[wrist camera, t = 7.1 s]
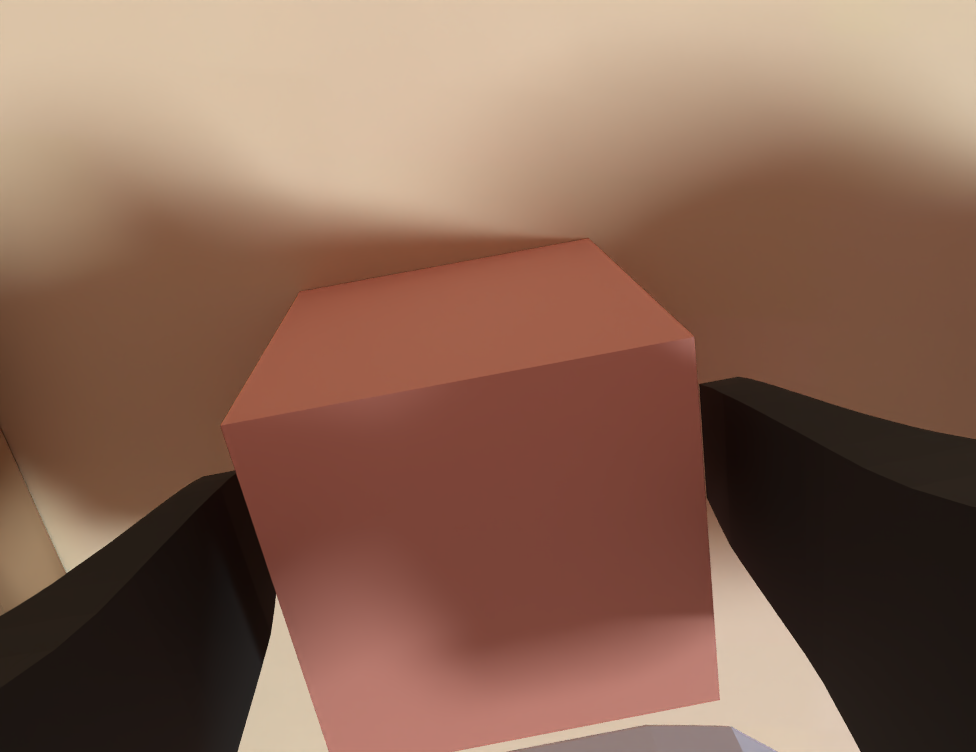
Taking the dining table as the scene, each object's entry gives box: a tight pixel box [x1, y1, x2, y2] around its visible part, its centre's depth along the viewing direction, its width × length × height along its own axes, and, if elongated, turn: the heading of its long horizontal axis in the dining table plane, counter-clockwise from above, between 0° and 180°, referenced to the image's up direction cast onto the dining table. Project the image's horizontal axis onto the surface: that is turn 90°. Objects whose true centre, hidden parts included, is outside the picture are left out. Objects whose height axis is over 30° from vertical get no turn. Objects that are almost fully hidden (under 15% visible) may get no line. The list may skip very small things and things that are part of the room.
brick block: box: [220, 238, 720, 752], centre depth 12 cm, size 6×6×6 cm
